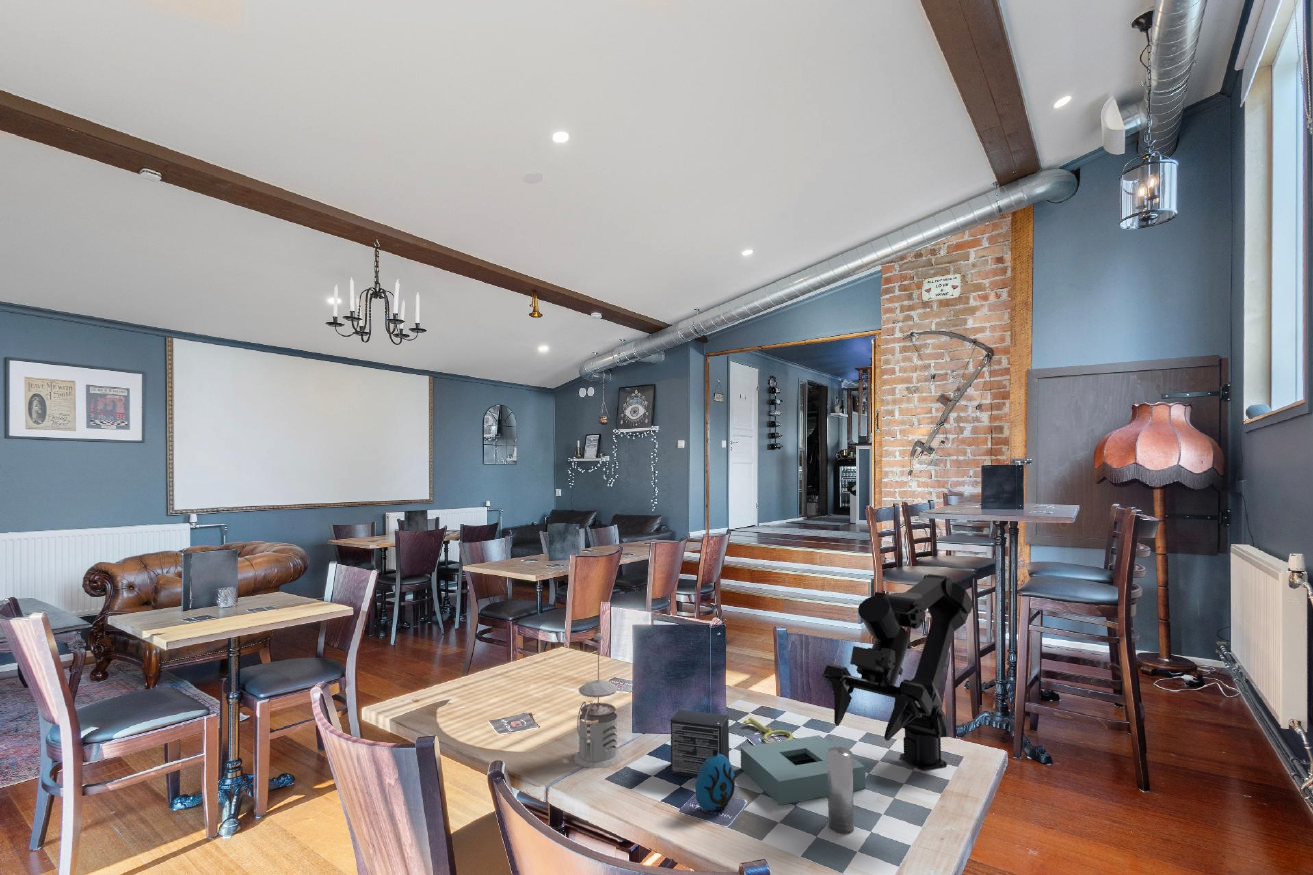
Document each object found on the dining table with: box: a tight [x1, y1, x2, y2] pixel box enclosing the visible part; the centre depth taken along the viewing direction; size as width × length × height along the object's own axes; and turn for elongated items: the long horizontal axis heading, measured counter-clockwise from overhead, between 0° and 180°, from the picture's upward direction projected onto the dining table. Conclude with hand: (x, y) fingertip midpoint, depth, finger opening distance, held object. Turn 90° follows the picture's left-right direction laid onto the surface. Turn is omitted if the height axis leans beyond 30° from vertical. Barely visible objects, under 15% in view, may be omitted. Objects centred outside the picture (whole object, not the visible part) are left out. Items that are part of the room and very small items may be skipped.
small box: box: [669, 709, 730, 779], centre depth 125 cm, size 11×6×10 cm, turn 71°
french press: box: [573, 632, 623, 769], centre depth 131 cm, size 10×12×25 cm
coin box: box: [740, 734, 867, 806], centre depth 122 cm, size 18×15×4 cm
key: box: [743, 716, 794, 742], centre depth 142 cm, size 7×12×2 cm, turn 50°
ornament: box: [694, 749, 736, 811], centre depth 111 cm, size 8×5×10 cm, turn 126°
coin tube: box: [827, 746, 855, 835], centre depth 105 cm, size 4×4×12 cm
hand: (860, 731), depth 111 cm, fingers open, 9 cm apart
